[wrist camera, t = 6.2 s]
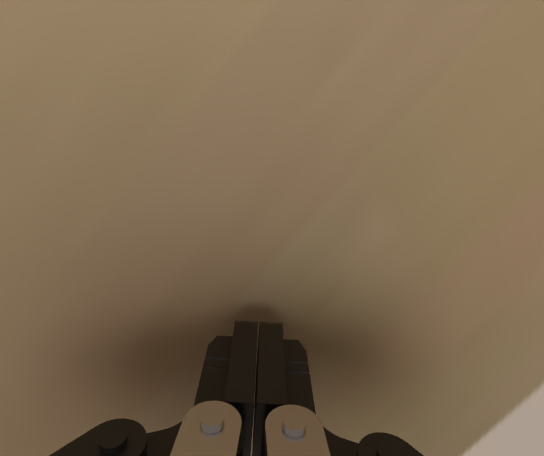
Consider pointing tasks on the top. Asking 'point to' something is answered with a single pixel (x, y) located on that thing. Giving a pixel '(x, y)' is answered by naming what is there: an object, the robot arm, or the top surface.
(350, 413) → the top surface
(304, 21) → the top surface
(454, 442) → the top surface
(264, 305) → the top surface
